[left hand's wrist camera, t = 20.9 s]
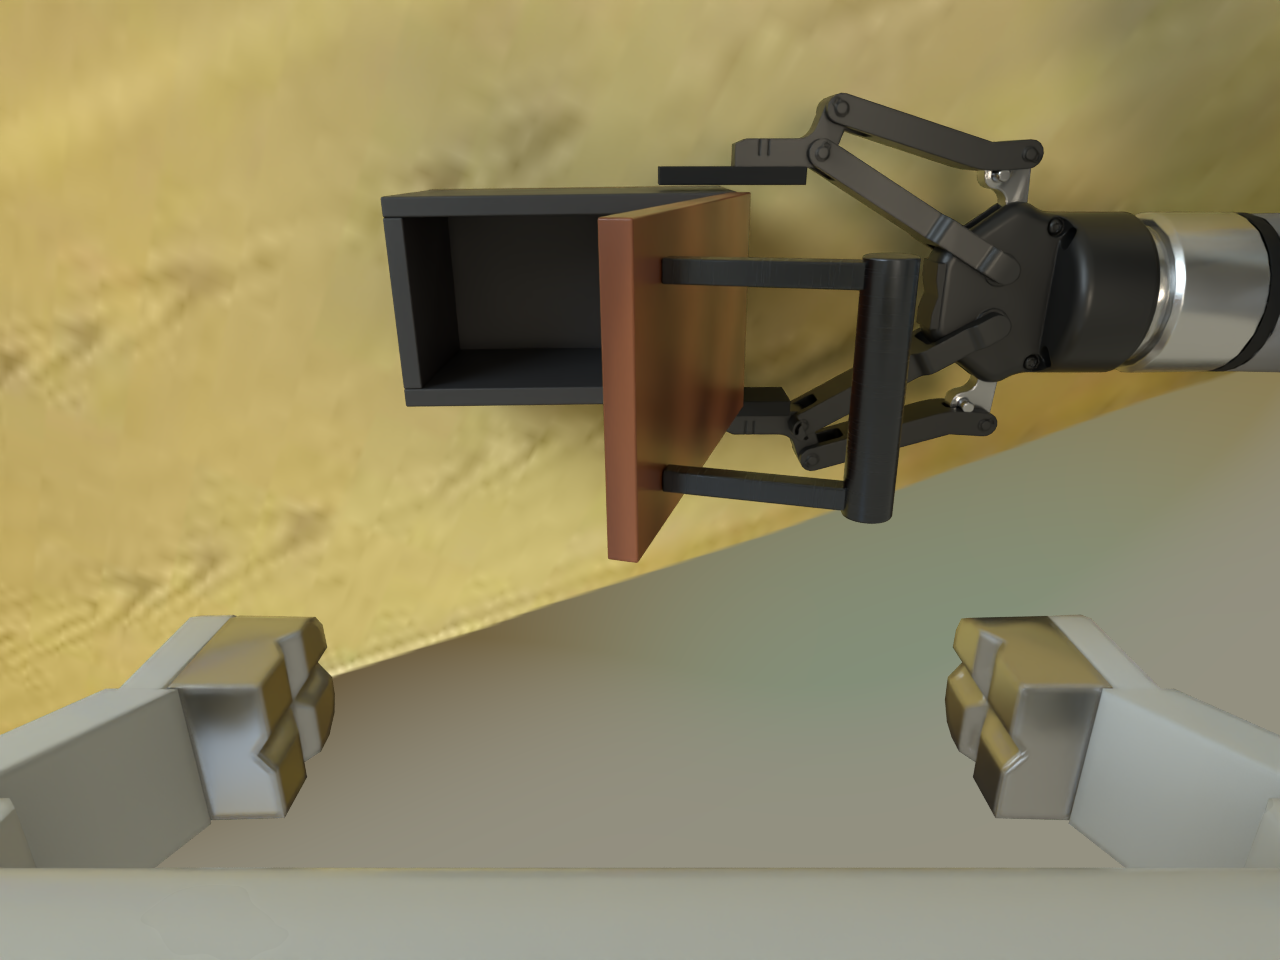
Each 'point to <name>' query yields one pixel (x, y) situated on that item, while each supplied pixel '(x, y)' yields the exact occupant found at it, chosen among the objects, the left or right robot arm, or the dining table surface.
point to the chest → (504, 290)
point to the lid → (729, 365)
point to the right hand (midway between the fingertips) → (657, 294)
